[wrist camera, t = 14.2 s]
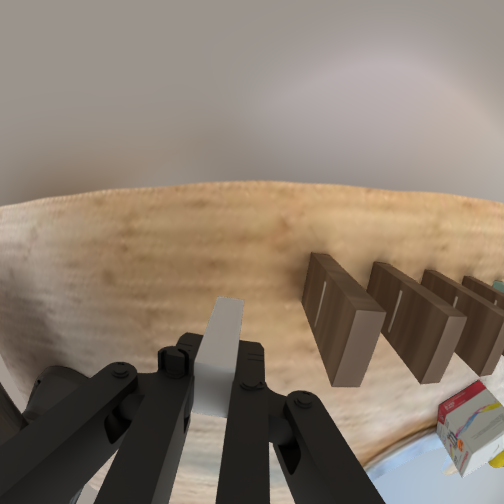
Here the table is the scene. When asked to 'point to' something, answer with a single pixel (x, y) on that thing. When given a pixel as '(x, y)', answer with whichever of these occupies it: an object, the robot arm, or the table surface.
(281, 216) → the table surface
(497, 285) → the domino
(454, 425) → the ink box
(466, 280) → the domino
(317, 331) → the domino
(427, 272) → the domino
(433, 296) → the domino
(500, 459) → the fruit
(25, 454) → the robot arm
